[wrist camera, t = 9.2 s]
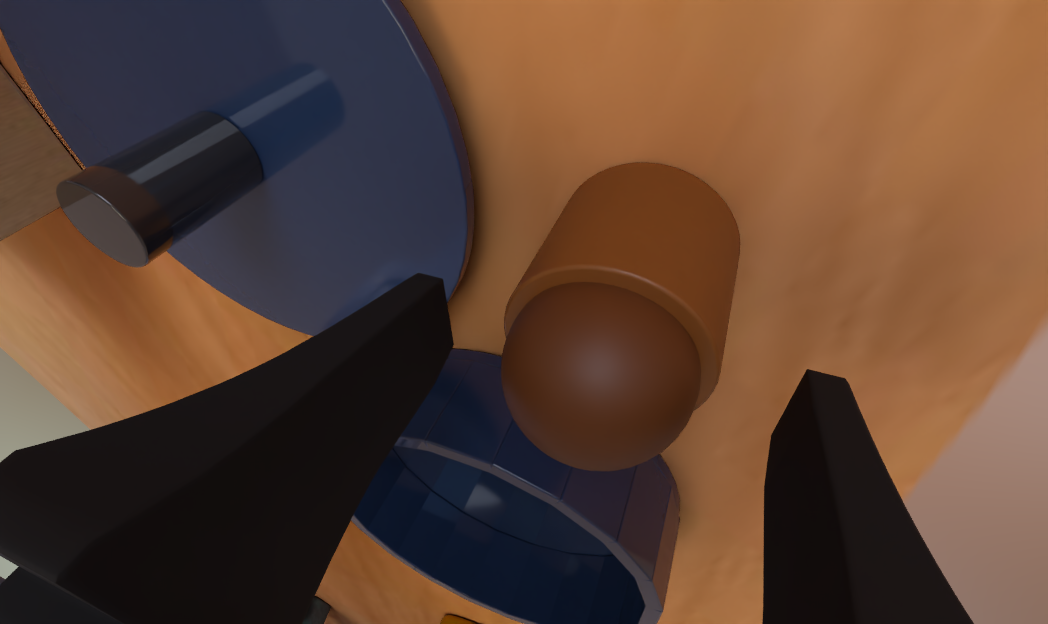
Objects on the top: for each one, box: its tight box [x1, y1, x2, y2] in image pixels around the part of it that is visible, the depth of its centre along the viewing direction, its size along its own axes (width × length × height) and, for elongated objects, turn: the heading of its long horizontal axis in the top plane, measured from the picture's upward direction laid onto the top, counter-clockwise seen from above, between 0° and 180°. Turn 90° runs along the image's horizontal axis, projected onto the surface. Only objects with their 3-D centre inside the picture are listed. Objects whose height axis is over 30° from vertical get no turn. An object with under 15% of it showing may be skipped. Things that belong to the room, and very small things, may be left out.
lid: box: [0, 0, 474, 336], centre depth 14 cm, size 15×15×5 cm
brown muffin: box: [501, 163, 740, 471], centre depth 11 cm, size 4×4×6 cm
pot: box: [351, 349, 680, 624], centre depth 22 cm, size 14×14×4 cm
